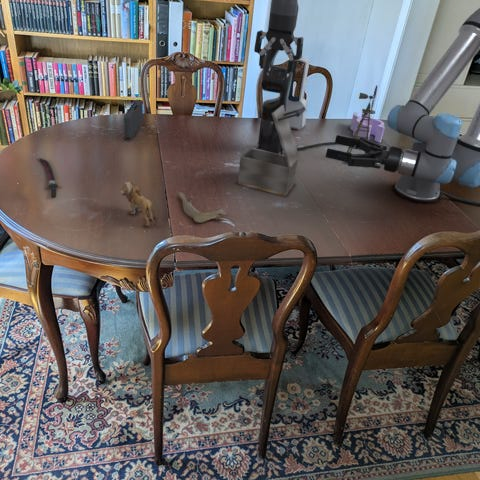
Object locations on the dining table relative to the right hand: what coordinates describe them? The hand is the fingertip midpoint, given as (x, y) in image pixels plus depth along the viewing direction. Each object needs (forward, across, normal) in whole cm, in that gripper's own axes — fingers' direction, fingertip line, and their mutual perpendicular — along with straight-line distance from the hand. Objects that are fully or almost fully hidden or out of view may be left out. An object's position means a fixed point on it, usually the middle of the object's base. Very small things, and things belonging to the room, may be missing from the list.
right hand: (331, 145), depth 147 cm
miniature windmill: (-5, +40, -19) cm, 45 cm away
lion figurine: (+45, -41, -19) cm, 63 cm away
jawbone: (+31, -27, -19) cm, 45 cm away
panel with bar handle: (+15, 0, 0) cm, 15 cm away
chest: (+19, 0, -19) cm, 27 cm away
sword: (+83, -34, -19) cm, 92 cm away
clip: (-3, +75, -19) cm, 77 cm away
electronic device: (+29, +64, -19) cm, 73 cm away
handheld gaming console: (+84, +18, -19) cm, 87 cm away
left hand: (+21, 0, +19) cm, 29 cm away
